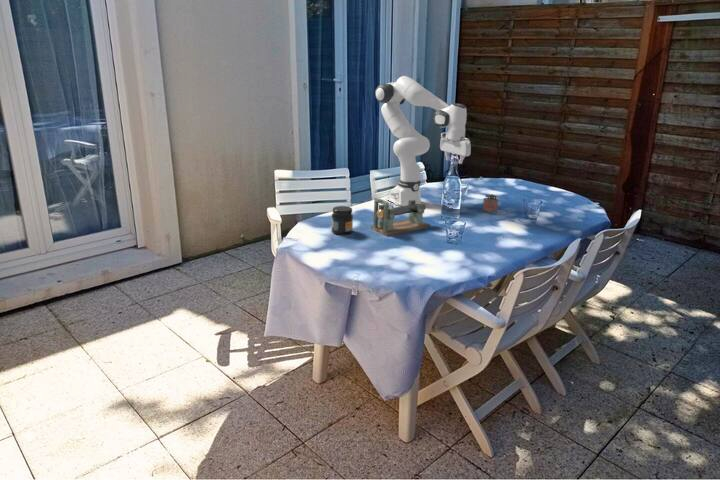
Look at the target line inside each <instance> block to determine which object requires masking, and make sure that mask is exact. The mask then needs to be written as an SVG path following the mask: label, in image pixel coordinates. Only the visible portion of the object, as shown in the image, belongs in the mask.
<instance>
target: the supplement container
mask: <svg viewBox="0 0 720 480" xmlns="http://www.w3.org/2000/svg"><path fill="white" fill-rule="evenodd" d="M353 223H354V214H353V208H352V207H350V206H345V205H337V206H334V207H332V214H331V232H332V233H333V234H336V235H342V236H343V235H345V236H346V235H350V234H351V233H353V230H354V229H353V228H354V227H353Z"/></svg>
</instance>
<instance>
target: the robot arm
mask: <svg viewBox="0 0 720 480" xmlns="http://www.w3.org/2000/svg"><path fill="white" fill-rule="evenodd" d="M374 96H375V99H376V100H377V102H378V103H380V104H382V106H381V108H380V110H381V111H380V112H381V115H382V117H383V119H384V121H385V123H386V125H387V126H388V128H389V130H390V132H391V133H392V135H393V136H394V137H396V138H398V140H396V141H395V142H394V143H393V147H392V149H393V151H392V152H393V153H394V154H395V155H396V157H397V158H398V160H399V164H400V177H399V178H400V179H398V180H397V182H398V183H397V185H396V186H395V187H393V188H392V189H391V190H390V191H389V196H387V197H385V201H387V200H389V201H393V202H394V203H395V204H396V205H395V207H401V206H406V205H408V202H409V200H416V201H415V204H418V203H422V199H421V188H420V187H421V180H420V179H421V178H420V177H421V176H420V175H421V166H420V165H419V164H418V163H417V160H416V157H417V156H421V155H424V154H425V153H427V152H428V151H429V149H430V147H431V143H430V139H428V137H426V136H424V135H422V134H421V133H420V132H418V131H417V130H416V129H415V128H414V127H413V126H412V125H411V123H410V122H409V121H408V119H407V117H406V115H405V114H404V113H403V111H402V109H401V108H400V107H401V106H400V105H404V104H405V101H406V102H408V104H411V105H413V106H414V107H415V106H416V107H428V108H431V109H433V110H435V112H434V114H433V117H432V119H433V124H434V125H435V126H436V127H438V128H448V129H447V131H446V132H442V133H440V142H439V143H440V144H439V148H440V151H442V152H444V155H445V161H449V162H450V161H451V156H450V153H451V154H455V155H458V156H459V159H458V162H457V163H458V164H459V165H462V164H463V161H464V160H465V158H466V157H469V156H471V152H472V151H471V150H472V149H471V148H472V147H471V140H470V138H467V137H466V124H467V116H468V113H467V107H466V105H464V104H462V103H456V102H455V103H454V102H453V103H451V104H449V103H448V102H446V101H445V100H443V99H442V98H440V97H438V95H435V94H434V93H432V92H431V91H429V90H428V89H427V88H425V87H423V86H422V85H421V84H420V83H419V82H417V81H416V80H414V79H413V78H412V77H409V76H407V75H401V76H400V77H398V79H397V80H396V81H395V82H394V81H393V82H388V83H382V84H379V85H378V86H377V87H376V88H375V91H374ZM389 201H388V202H389Z"/></svg>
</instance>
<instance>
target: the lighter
mask: <svg viewBox="0 0 720 480" xmlns="http://www.w3.org/2000/svg"><path fill="white" fill-rule="evenodd" d="M498 203H499V198H497V194H488V193H487V194H485V197H484V198H483V206H482V207H483V208H482V212H483V213H496V214H497V213H498Z"/></svg>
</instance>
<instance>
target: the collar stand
mask: <svg viewBox="0 0 720 480" xmlns="http://www.w3.org/2000/svg"><path fill="white" fill-rule="evenodd" d="M373 200H374V204H373V225H370V230H372V231H374V232H376V233H378V234H380V235H383V236H386V237H391V236H394V235H400V234H404V233H408V232H409V233H410V232H414V231H418V230H419V231H420V230H424V229H427V228H431V224H430V223H428V222H425V221H423V217H424V215H423V214H425V210H424V208H425V205H426V203H425V202H421V203H418V206H417V212H412V213H408V218H407V219H402V220H397V221H394V220H395V217H396V216H395V209H394V208H395V207H391V208H389V207H390V205H389V203H390V202H389V201H387V200H384V199H382V198H379V197H374V199H373ZM415 201H416V200H409V202H408V205H412V204H415ZM382 209H384V218H381V219H379V218H378V217H377V211H378V210H382Z"/></svg>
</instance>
